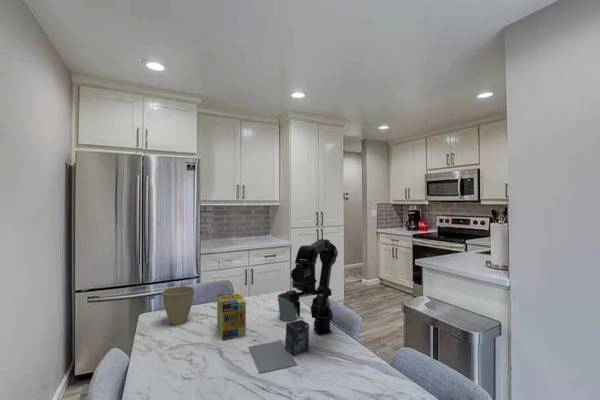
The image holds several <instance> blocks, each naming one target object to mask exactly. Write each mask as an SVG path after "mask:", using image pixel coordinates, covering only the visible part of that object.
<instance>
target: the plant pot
mask: <svg viewBox="0 0 600 400" xmlns="http://www.w3.org/2000/svg"><path fill="white" fill-rule="evenodd" d="M161 294H162V299H163V301H162V302H163V306H164V309H165V310H164V311H165V313H166V315H167V318H168V322H169V323H170V325H173V326H179V325H182V324H185V323H186V322H187V321H188V317H189V315H190V313H191V312H190V311H191V309H192V304H193V300H194V294H195V287H193V286H189V285H188V286H185V285H183V286H182V285H181V286H175V287H169V288H166V289H164V290H163V291H162V292H161Z"/></svg>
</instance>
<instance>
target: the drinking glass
mask: <svg viewBox="0 0 600 400" xmlns="http://www.w3.org/2000/svg"><path fill="white" fill-rule="evenodd" d="M285 293H286V292H282V293H279V294H278V295H277V301H278V303H277V304H278V311H279V320H280V322H284V323H290V322H295V321H297V319H298V318H297V317H298V315H297V313H296V310H295V307H294V305H293V303H292V302H289V301H288V300H287V299H286V298H285Z"/></svg>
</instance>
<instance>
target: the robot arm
mask: <svg viewBox="0 0 600 400" xmlns="http://www.w3.org/2000/svg"><path fill="white" fill-rule="evenodd" d="M338 254H339V253H338V249H337V247H336V245H335V244H333V243H331V241H330V240H329V239H328V238H327V239H324V238H319V239H318V240H317V241H315V242H313V243H312V244H310V245H309V244H308V245H307V244H306V245H305V244H304V245H301V246H300V247H299V248H298V250H297V254H296V258H295V261H294V264H295V267H294V268H293V269H292V270H291V273H290V277H291V279H292V281H291V282H292V283H291V287H292V288H293V289H294V290H288V291H286V292H284V293H285V298H286V299H287V300H288V301H289V302H292V303H293V305H294V307H295V310H296V313H297V317H299V318H300V315H301V301H300V298H304V297H310V296H315V297H313V299H312V303H311V306H310V313H311V318H312V319H314V321H313V331H315V333H316V334H317V335H319V336H323V335H327V334H332V333H333V332H332V330H331V321H333V317H334V311H333V310H332V308H331V303H330V300H329V298H330V297H331V296H332V289H331V288H330V281H331V274H332V268H333V265H334V264H335V263H336V261H337V258H338ZM318 257H319V260H320V263H321V270H320V277H319V281H318V282H319V283H318V282H317V279H316V264H317V260H318ZM316 283H318V287H317V288H316ZM295 289H296V290H295ZM298 291H299V292H298Z"/></svg>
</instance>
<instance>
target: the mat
mask: <svg viewBox="0 0 600 400" xmlns="http://www.w3.org/2000/svg"><path fill="white" fill-rule="evenodd" d="M247 348H248V349H249V352H250V355H251V357H252V359H253V362H254V364H255V366H256V369H257V371H258V374H260V375H261V374H265V373H270V372H273V371H274V372H275V371H278V370H283V369H287V368H292V367H296V366H298V363H297V361H296V360H295V359H294V356H293V355H291V354H290V353H289V352H288V351H287V350H285V343H283V341H282V340H277V341H271V342H267V343H266V342H265V343H262V344H261V343H260V344H255V345H250V346H249V345H248V347H247Z"/></svg>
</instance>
